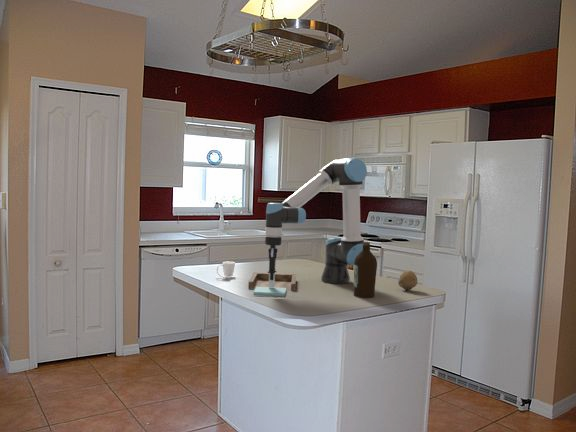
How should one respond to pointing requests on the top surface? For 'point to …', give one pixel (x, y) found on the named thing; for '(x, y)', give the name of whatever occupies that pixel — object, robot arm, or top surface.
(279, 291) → the cover plate
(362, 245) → the robot arm
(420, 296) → the top surface
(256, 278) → the walnut box
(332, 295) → the top surface
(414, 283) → the natural sponge
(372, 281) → the olive oil
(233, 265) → the cup
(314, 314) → the top surface
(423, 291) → the top surface
